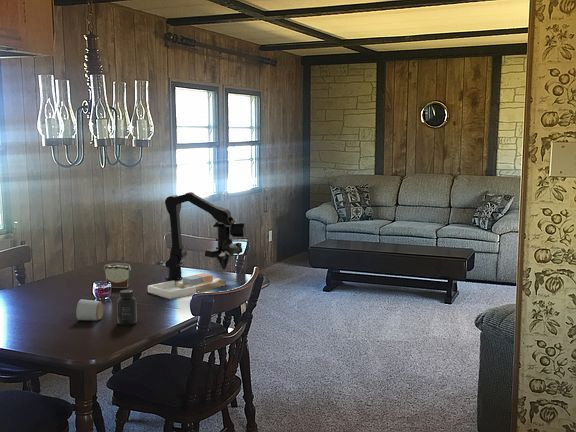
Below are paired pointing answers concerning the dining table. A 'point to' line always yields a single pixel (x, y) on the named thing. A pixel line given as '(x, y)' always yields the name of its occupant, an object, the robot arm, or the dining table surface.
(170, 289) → the box
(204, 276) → the terracotta tile
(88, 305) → the white cylinder
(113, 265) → the food container
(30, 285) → the dining table surface
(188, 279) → the slate tile
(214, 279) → the birch plate
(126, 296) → the supplement bottle
